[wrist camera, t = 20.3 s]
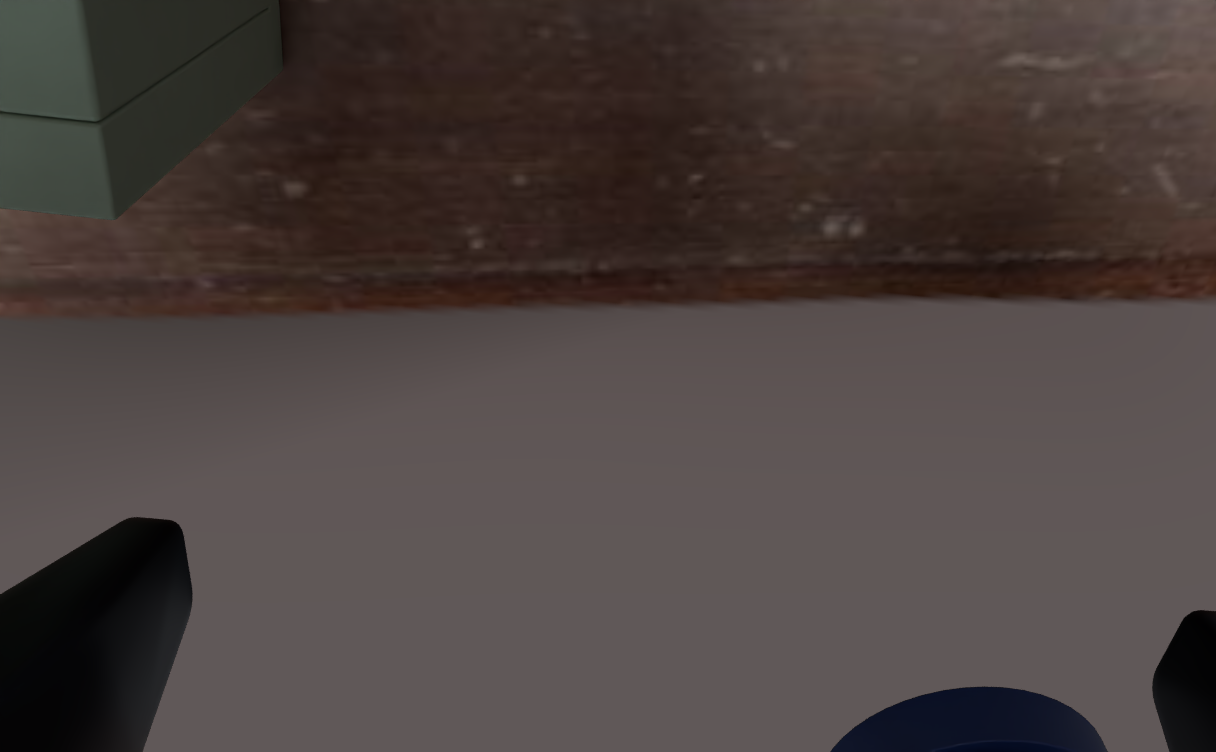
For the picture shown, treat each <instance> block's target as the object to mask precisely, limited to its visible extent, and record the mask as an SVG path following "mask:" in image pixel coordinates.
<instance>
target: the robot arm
mask: <svg viewBox="0 0 1216 752" xmlns="http://www.w3.org/2000/svg"><path fill="white" fill-rule="evenodd" d="M191 607H192V585H191V578H190V572H189V566H188V560H187V553H186V547H185V541H184V536H183V532H182V529H181V527H180V526H179V524H177V523H176V522H174V521H172V520H164V519H153V518H140V517H134V518H128V519H126V520H123V521H121V522H120V523H118V524H116V525H115V526H113V527H111V528H110V529H108V530H106V531H105V532H103V533H101V534H100V535H98V536H96V537H95V538H93V539H91V540H90V541H88V542H86V543H85V544H83V545H81V546H80V547H78V548H76V549H75V550H73V551H71V552H70V553H68V554H67V555H65V556H63V557H62V558H60V559H58V560H57V561H55V562H54V563H52V564H50V565H48V566H47V567H45V568H43V569H42V570H40V571H39V572H37V573H35V574H34V575H32V576H30V577H28V578H27V579H25V580H24V581H22V582H20V583H19V584H17V585H16V586H14V587H12V588H10V589H9V590H7V591H5V592H4V593H2V594H0V752H143V749H144V746H145V743H146V740H147V737H148V734H149V731H150V729H151V725H152V723H153V720H154V717H155V714H156V711H157V708H158V706H159V703H160V700H161V697H162V694H163V691H164V688H165V686H166V683H167V680H168V677H169V674H170V671H171V668H172V665H173V662H174V659H175V657H176V654H177V651H178V648H179V645H180V642H181V639H182V636H183V634H184V631H185V628H186V625H187V622H188V619H189V616H190V612H191ZM1152 689H1153V698H1154V703H1155V705H1156V709H1157V712H1158V716H1159V719H1160V722H1161V725H1162V729H1163V732H1164V735H1165V739H1166V742H1167V745H1168V748H1169V751H1170V752H1216V611H1204V610H1198V611H1193V612H1191V613H1190V614H1188V615H1187V616H1186V617H1185V618H1184V619H1183V621H1182V622H1181V624H1180V626H1179V628H1178V630H1177V631H1176V633H1175V635H1174V637H1173V639H1172V641H1171V642H1170V644H1169V646H1168V648H1167V650H1166V652H1165V654H1164V655H1163V657H1162V659H1161V661H1160V663H1159V665H1158V666H1157V668H1156V671H1155V673H1154V678H1153V686H1152Z"/></svg>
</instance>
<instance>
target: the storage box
mask: <svg viewBox="0 0 1216 752" xmlns="http://www.w3.org/2000/svg"><path fill="white" fill-rule="evenodd" d="M282 70H283V58H282V41H281V25H280V8H279V0H0V208H4V209H14V210H23V211H32V212H42V213H51V214H60V215H70V216H79V217H88V218H97V219H107V220H115V219H117V218H118V217H119V216H120V215H121V214H122V213H124V212H125V211H126V210H127V209H128V208H129V207H130V206H131V205H133V204H134V203H135V202H136V201H137V200H138V199H139V198H140V197H142V196H143V195H144V194H145V193H146V192H147V191H148V190H149V189H150V188H152V187H153V186H154V185H155V184H156V183H157V182H158V181H159V180H161V179H162V178H163V177H164V176H165V175H166V174H167V173H168V172H170V171H171V170H172V169H173V168H174V167H175V166H176V165H177V164H178V163H180V162H181V161H182V160H183V159H184V158H185V157H186V156H187V155H189V154H190V153H191V152H192V151H193V150H194V149H195V148H196V147H198V146H199V145H200V144H201V143H202V142H203V141H204V140H205V139H206V138H208V137H209V136H210V135H211V134H212V133H213V132H214V131H215V130H217V129H218V128H219V127H220V126H221V125H222V124H223V123H224V122H226V121H227V120H228V119H229V118H230V117H231V116H232V115H233V114H234V113H236V112H237V111H238V110H239V109H240V108H241V107H242V106H243V105H245V104H246V103H247V102H248V101H249V100H250V99H251V98H252V97H254V96H255V95H256V94H257V93H258V92H259V91H260V90H261V89H262V88H264V87H265V86H266V85H267V84H268V83H269V82H270V81H271V80H273V79H274V78H275V77H276V76H277V75H278V74H279V73H280V72H282Z"/></svg>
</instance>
